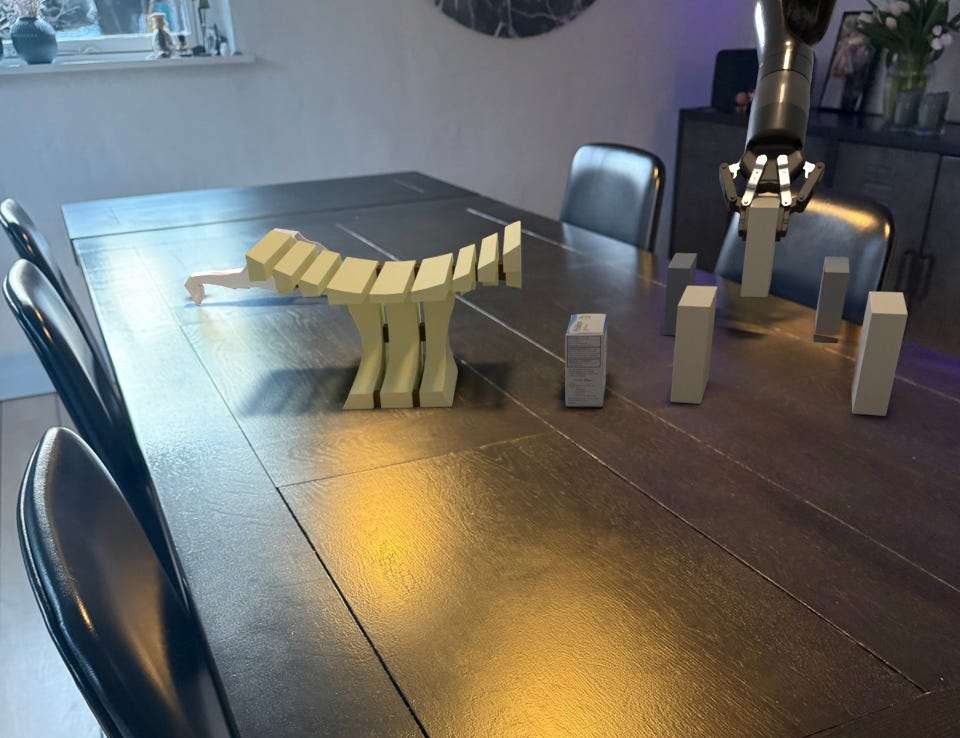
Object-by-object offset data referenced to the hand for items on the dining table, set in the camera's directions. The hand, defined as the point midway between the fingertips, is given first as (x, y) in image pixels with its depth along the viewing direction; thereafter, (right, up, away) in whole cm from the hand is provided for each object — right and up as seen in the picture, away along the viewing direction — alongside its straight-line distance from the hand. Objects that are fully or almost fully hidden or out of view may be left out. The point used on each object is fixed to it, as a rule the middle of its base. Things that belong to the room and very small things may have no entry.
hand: (761, 237), depth 121 cm
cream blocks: (-2, -24, -12) cm, 27 cm away
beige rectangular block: (+1, -5, +6) cm, 7 cm away
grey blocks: (+1, -9, +9) cm, 13 cm away
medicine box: (-24, -23, -10) cm, 35 cm away
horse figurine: (-71, +3, +32) cm, 78 cm away
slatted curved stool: (-46, -20, -4) cm, 51 cm away
